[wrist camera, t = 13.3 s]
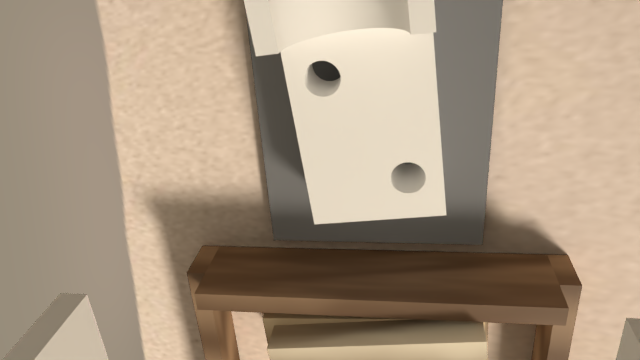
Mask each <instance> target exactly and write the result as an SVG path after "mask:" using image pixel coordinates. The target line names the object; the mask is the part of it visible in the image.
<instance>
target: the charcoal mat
mask: <svg viewBox="0 0 640 360" xmlns="http://www.w3.org/2000/svg"><path fill="white" fill-rule="evenodd" d="M434 5H435V19H436V32H434V33H433V36H434V50H435V64H436V77H437V91H438V105H439V119H440V133H441V147H442V160H443V174H444V188H445V202H446V215H444V216H429V217H415V218H400V219H386V220H371V221H357V222H342V223H328V224H314V220H313V215H312V210H311V205H310V200H309V195H308V189H307V184H306V179H305V174H304V169H303V164H302V159H301V154H300V149H299V144H298V139H297V134H296V129H295V124H294V119H293V114H292V108H291V103H290V98H289V93H288V88H287V83H286V78H285V73H284V68H283V63H282V58H281V53H278V54H271V55H263V56H256V55H255V50H254V45H253V41H252V36H251V32H250V27H249V23H248V18H247V13H246V18H247V26H248V34H249V42H250V50H251V58H252V67H253V75H254V83H255V91H256V99H257V107H258V115H259V123H260V131H261V140H262V148H263V156H264V164H265V172H266V180H267V188H268V196H269V204H270V213H271V221H272V229H273V237H274V240H290V241H335V242H379V243H424V244H468V245H482V243H483V231H484V220H485V208H486V196H487V184H488V172H489V160H490V148H491V136H492V124H493V112H494V100H495V88H496V76H497V64H498V52H499V41H500V29H501V17H502V5H503V0H434ZM245 10H246V9H245ZM312 67H313V70H314V72H315V74H316V75H317V76H318V77H319V78H321V79H323V80H325V81H334V80H337V79H338V78H340V73H339V71H338V69H337V68H336V67H335V66H334V65H333V64H332V63H330V62H327V61H316V62H314V63H312ZM403 164H412V163H410V162H406V163H403Z"/></svg>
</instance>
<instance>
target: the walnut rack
mask: <svg viewBox="0 0 640 360" xmlns="http://www.w3.org/2000/svg"><path fill="white" fill-rule="evenodd" d="M187 276H188V281H189V285H190V290H191V295H192V299H193V304H194V308H195V313H196V318H197V322H198V327H199V332H200V336H201V341H202V345H203V350H204V355H205V359H206V360H240V359H239V353H238V347H237V342H236V336H235V331H234V325H233V319H232V314H231V311H239V312H262V313H285V314H308V315H330V316H353V317H376V318H399V319H422V320H445V321H468V322H491V323H514V324H537V326H536V333H535V340H534V346H533V353H532V360H568V357H569V352H570V346H571V341H572V336H573V331H574V326H575V320H576V315H577V310H578V305H579V299H580V294H581V289H582V284H581V282H580V280H579V278H578V276H577V274H576V271H575V269H574V267H573V265H572V263H571V261H570V258H569V256H568V255H549V254H508V253H468V252H427V251H386V250H346V249H305V248H265V247H224V246H202V248H201V249H200V251H199V253H198V254H197V256H196V258H195V260H194V261H193V263H192V265H191V266H190V268H189V270H188V272H187Z"/></svg>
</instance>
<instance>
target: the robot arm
mask: <svg viewBox="0 0 640 360" xmlns="http://www.w3.org/2000/svg"><path fill="white" fill-rule="evenodd" d="M2 360H109V359H108V357H107V353H106V350H105V347H104V344H103V341H102V338H101V335H100V332H99V329H98V326H97V323H96V320H95V317H94V314H93V311H92V308H91V305H90V302H89V299H88V296H87V294H67V293H60V294H59V295H58V296H57V298H56V299H55V300H54V301H53V302H52V303H51V304H50V306H49V307H48V308H47V309H46V310H45V311H44V312H43V314H42V315H41V316H40V317H39V318H38V319H37V320H36V321H35V323H34V324H33V325H32V326H31V327H30V328H29V329H28V331H27V332H26V333H25V334H24V335H23V337H21V339H20V340H19V341H18V342H17V343H16V344H15V346H14V347H13V348H12V349H11V350H10V351H9V352H8V353H7V354H6V356H5V357H4V358H3V359H2ZM616 360H640V319H634V318H626V321H625V325H624V329H623V333H622V338H621V342H620V346H619V350H618V354H617V358H616Z"/></svg>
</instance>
